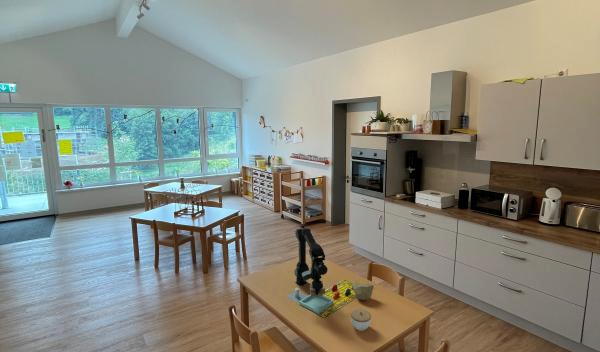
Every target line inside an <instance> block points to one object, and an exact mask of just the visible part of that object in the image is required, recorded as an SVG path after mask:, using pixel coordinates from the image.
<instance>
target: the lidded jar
mask: <svg viewBox="0 0 600 352" xmlns="http://www.w3.org/2000/svg"><path fill="white" fill-rule="evenodd" d="M371 320H372V314H371V312H370V311H368V310H366V309H363V308H355V309H353V310H352V311H351V312H350V321H351V324H352V326H353V327H354V328H355V330H357V331H358V332H359V331H360V332H365V331H366V330H367V329H368V328H369V327H370V325H371Z"/></svg>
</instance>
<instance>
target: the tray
mask: <svg viewBox="0 0 600 352" xmlns="http://www.w3.org/2000/svg"><path fill="white" fill-rule="evenodd" d="M334 300H335V299H332V298H330V297H327V296H325V295H323V296H314V297H311V294H308V295H307V297H305V298H303V299H302V300H300V301H299V302H298V304H299V305H300V306H302V307H304V308H306V309H308V310H310V311H311V312H314V313H315V315H320V314H321V313H323V312H324V311H325V310H327V309H329V308H330V307H331V306H333V305H334V304H335V303H334V302H335V301H334Z"/></svg>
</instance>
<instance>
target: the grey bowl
mask: <svg viewBox="0 0 600 352" xmlns="http://www.w3.org/2000/svg"><path fill="white" fill-rule="evenodd" d="M350 290H351V291H353V292H354V295H355V297H356V299H357V300H360V301H367V300H369V299H371V297H372V295H373V290H374V284H371V283H360V282H357V281H356V282H353V283H352V285H351V288H350Z"/></svg>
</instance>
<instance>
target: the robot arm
mask: <svg viewBox="0 0 600 352" xmlns="http://www.w3.org/2000/svg"><path fill="white" fill-rule="evenodd" d="M294 234H295V238H296V239H297V241H298V261H297V263H296V265H295V269H294V272H293V273H294V275H295V277H296V281H295V282H294V283H295V284H296V285H298V286H301V287H302V286H304V285H306V284H308V283H309V282H308V280H312V282H311V284H312V288H315V293H316V295H318V293H319V291H320V289H321V288H324V283H323V281H322V276H325V275H326V274H327V273H328V267H327V265H325V262H324V261H326V255H325V252H324V249H323V248H322V247H321V245H320V244H318V243H317V242H316V239H315V237H314V236H313V234H312V232H311V228H309V227H308V228H307V227H303V228H297V229H296V230H295V233H294ZM307 245H308V247H309V253H308V255H309V256H310V259H311V261H310V262H311V266H310V268H309V265H308V263H307V257H306V256H307V255H306V254H307Z"/></svg>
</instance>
